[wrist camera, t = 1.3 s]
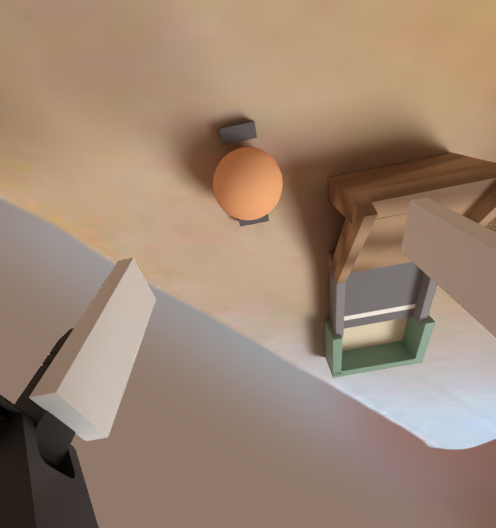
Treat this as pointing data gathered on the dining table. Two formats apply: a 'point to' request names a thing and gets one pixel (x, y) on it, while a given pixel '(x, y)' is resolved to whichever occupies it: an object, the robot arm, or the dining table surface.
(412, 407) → the dining table surface
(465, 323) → the dining table surface
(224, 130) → the grey flat pieces
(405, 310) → the runway
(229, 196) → the ball
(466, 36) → the dining table surface
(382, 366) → the green open tray
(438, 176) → the ramp
